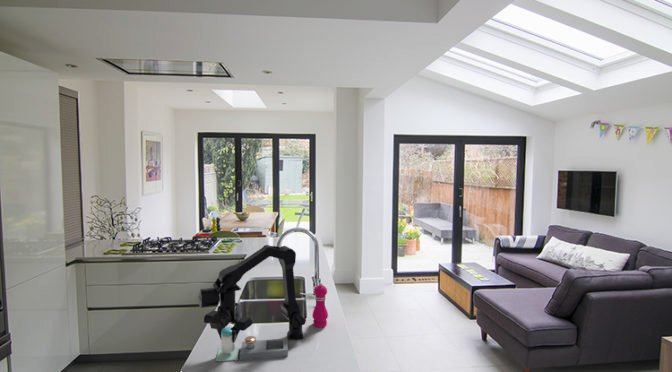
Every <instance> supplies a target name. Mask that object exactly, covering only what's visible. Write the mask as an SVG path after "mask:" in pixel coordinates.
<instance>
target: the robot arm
mask: <svg viewBox="0 0 672 372" xmlns="http://www.w3.org/2000/svg"><path fill="white" fill-rule="evenodd" d="M270 257H271V258H276V259H278V262H279V265H280V267H281V269H282V270H281V271H282V281H283V291H284V295H283V296H284V301H283V303H280V308H281V309H280V313H281V314H282V315H283V316H284V317H285V318H286V320H288V331H287V340H300V339H301V340H302V339H304V333H303V326H304V325H306V322H307V319H306V318H305V317H304V316H302V315H301V314H302V313H301V308H300V306H299V304H298V302H297V298H296V297H297V296H296V285H295V273H294V267H295V264H296V259H297V258H296V257H297V254H296V251H295V250H294V249H292V248H290V247H289V246H287V245H281V246H276V245H270V244H265V245H263V246H262V247H261V248H259V250H256V251H255V252H253V253H252V254H250V255H249V256H248V257H246V258H245V259H243V260H242V261H240V262H239V263H236V264H233V265H230V266H227V267H226V268H223V269H222V270H220V271H219V272H218V277H217V278H216V280H215V281H214V283H213V284H212V287H209V288H201V289H199V294H198V299H197V300H198V306H199V308H200V309H204V308H209V307H215V306H217V305H218V304H219V305H218V306H217V310H215V309H214V310H213V309H212V310H211V311H209V312H208V313H206V314H204V316H203V323H204V324H205V323H206V324H209V325H210V329H215V330H216V331H217V333H218V336H219V338H220V340H221V330H222V329H223V328H225V327H228V325H229V324H233V326H231V327H232V328H231V329H230V330H231V331H232V342H233V343H234V342H235V343H236V341H237V338H238V335H239V334H240V331H243V332H244V331H246V330H247V329H248V328H250V327H251V326H252V325H253V319H252V317H250V316H249V317H248V316H245V315H242V317H240V318H236V317H238V312H236V307H237V306H238V302H236V292H237V291H241V290H242V288H241V287H240V286H239V285H238V282H240V280H242V278H243V277H244V275H245V274H246V273H248V272H249V271H251V270H252V269H254V268H255V267H257V266H258V265H259V264H261V263H262V262H264V261H266V260H267V259H268V258H270Z"/></svg>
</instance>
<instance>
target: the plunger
mask: <svg viewBox="0 0 672 372" xmlns="http://www.w3.org/2000/svg"><path fill="white" fill-rule="evenodd" d="M244 341H245V343H246V344H247V349H254V343H255V342H256V341H257V337H256V336H254V335H253V336H252V335H249V336H247V337H245V338H244Z"/></svg>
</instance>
